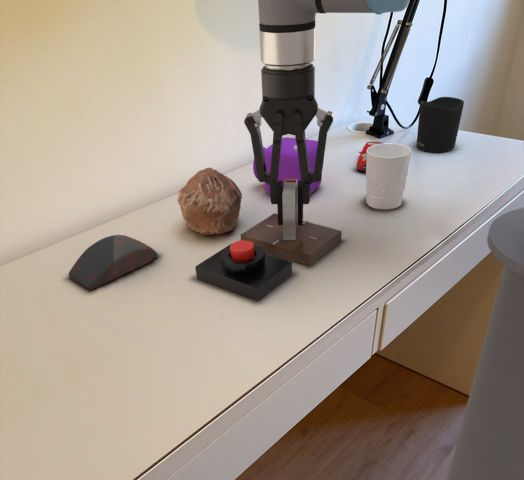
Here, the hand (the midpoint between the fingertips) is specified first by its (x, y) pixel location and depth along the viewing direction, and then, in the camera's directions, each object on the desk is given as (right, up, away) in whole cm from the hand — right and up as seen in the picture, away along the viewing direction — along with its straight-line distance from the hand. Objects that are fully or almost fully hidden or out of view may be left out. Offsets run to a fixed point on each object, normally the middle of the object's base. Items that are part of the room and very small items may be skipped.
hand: (290, 221), depth 88 cm
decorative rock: (-14, +1, +9) cm, 17 cm away
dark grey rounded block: (-29, -8, -1) cm, 30 cm away
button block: (-7, -10, -5) cm, 14 cm away
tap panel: (0, -3, +2) cm, 4 cm away
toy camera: (0, +11, +21) cm, 24 cm away
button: (-8, -7, -8) cm, 13 cm away
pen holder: (+36, +26, +37) cm, 58 cm away
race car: (+20, +20, +31) cm, 42 cm away
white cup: (+19, +7, +14) cm, 24 cm away
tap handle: (0, -2, +1) cm, 2 cm away
